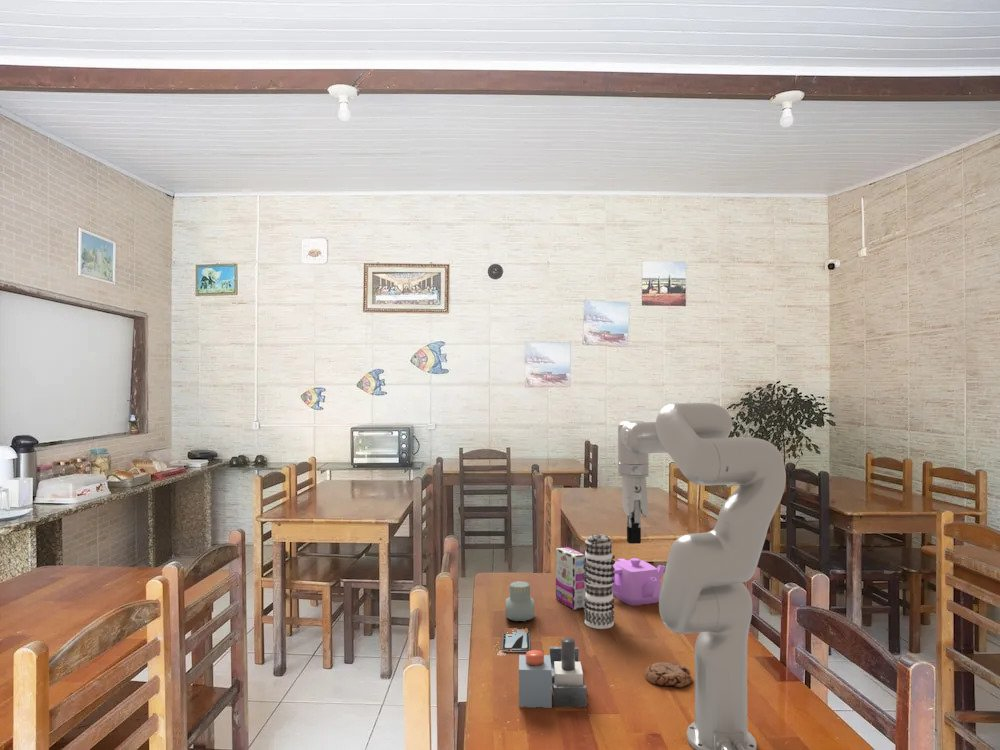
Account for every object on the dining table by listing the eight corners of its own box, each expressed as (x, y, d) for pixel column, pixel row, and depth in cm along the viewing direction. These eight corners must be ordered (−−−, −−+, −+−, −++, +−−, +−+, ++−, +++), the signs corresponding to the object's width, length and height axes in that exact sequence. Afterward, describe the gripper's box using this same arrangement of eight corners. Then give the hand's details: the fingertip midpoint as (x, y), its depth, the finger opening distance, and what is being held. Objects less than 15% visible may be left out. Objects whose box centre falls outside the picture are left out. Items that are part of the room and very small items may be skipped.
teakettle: (617, 585, 205) (616, 549, 205) (667, 593, 197) (667, 555, 197) (602, 602, 189) (602, 562, 189) (656, 610, 182) (656, 570, 182)
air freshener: (534, 625, 171) (534, 590, 171) (505, 625, 171) (505, 590, 171) (533, 611, 182) (533, 578, 182) (506, 611, 182) (506, 578, 182)
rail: (586, 707, 128) (586, 688, 128) (553, 706, 128) (553, 687, 128) (578, 663, 148) (577, 646, 148) (549, 662, 148) (549, 646, 148)
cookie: (637, 673, 143) (637, 661, 143) (674, 666, 147) (674, 654, 147) (661, 694, 134) (661, 680, 134) (700, 686, 137) (700, 673, 137)
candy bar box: (587, 608, 184) (587, 554, 184) (573, 611, 182) (573, 556, 182) (568, 596, 194) (568, 545, 194) (555, 599, 192) (554, 547, 192)
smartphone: (529, 627, 169) (530, 650, 154) (529, 630, 169) (530, 653, 154) (503, 627, 169) (501, 649, 154) (503, 630, 169) (501, 653, 154)
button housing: (551, 707, 128) (551, 670, 128) (519, 707, 128) (518, 669, 128) (550, 690, 135) (550, 655, 135) (519, 690, 135) (519, 654, 135)
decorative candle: (622, 626, 170) (621, 538, 170) (593, 631, 167) (593, 541, 167) (604, 614, 179) (604, 531, 179) (577, 619, 175) (577, 534, 175)
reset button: (544, 684, 129) (544, 658, 129) (525, 683, 129) (525, 658, 130) (543, 674, 133) (543, 650, 133) (525, 674, 133) (525, 649, 134)
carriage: (585, 695, 130) (585, 646, 130) (552, 694, 131) (552, 646, 131) (583, 681, 136) (582, 635, 136) (551, 681, 137) (551, 634, 137)
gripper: (654, 474, 143) (655, 551, 143) (642, 465, 158) (642, 535, 158) (623, 474, 144) (623, 550, 143) (613, 465, 159) (614, 535, 158)
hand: (633, 542), depth 151 cm, fingers closed
